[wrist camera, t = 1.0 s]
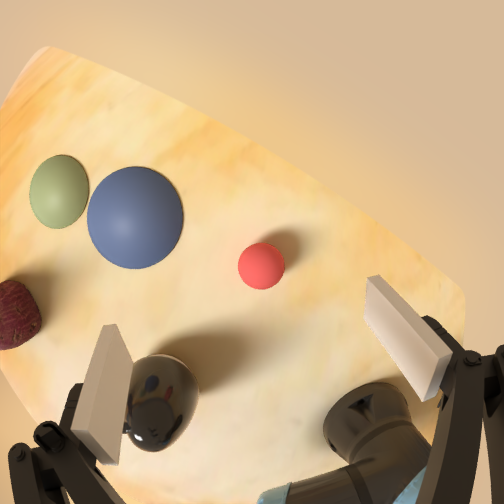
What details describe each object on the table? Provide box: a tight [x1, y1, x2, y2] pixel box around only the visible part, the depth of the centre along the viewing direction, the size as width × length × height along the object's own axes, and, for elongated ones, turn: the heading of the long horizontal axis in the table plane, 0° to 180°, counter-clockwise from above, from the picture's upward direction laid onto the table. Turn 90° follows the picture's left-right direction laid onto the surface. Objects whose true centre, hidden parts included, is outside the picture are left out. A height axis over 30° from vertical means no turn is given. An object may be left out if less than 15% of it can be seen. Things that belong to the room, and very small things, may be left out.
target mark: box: [87, 167, 182, 269], centre depth 38 cm, size 13×13×1 cm
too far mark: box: [29, 155, 88, 229], centre depth 36 cm, size 10×10×1 cm
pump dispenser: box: [122, 354, 199, 452], centre depth 35 cm, size 10×10×15 cm
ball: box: [238, 243, 285, 289], centre depth 38 cm, size 6×6×6 cm
